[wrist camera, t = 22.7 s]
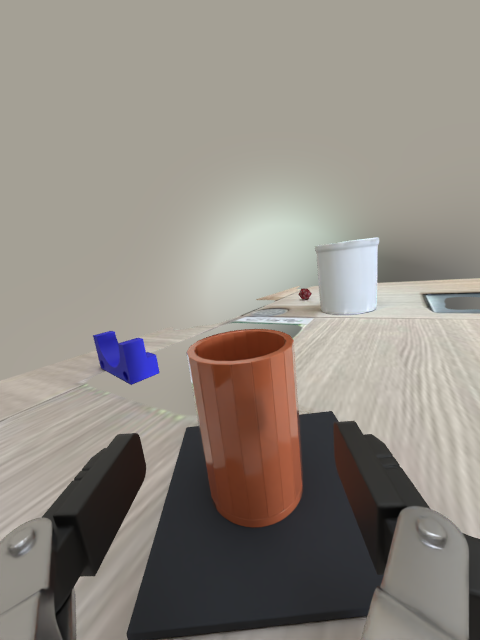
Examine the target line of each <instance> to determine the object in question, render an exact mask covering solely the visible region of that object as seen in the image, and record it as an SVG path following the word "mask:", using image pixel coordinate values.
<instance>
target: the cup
mask: <svg viewBox="0 0 480 640" xmlns="http://www.w3.org/2000/svg"><path fill="white" fill-rule="evenodd" d="M187 358H188V364H189V370H190V376H191V382H192V388H193V394H194V400H195V406H196V412H197V418H198V424H199V431H200V437H201V443H202V449H203V455H204V461H205V467H206V473H207V479H208V485H209V489H210V495H211V499H212V502H213V504H214V506H215V508H216V509H217V511H218V512H219V513H220V514H221V515H222V516H223V517H225V518H226V519H227V520H229V521H231V522H232V523H235V524H237V525H240V526H244V527H253V528H254V527H265V526H269V525H272V524H275V523H277V522H279V521H281V520H283V519H284V518H286V517H287V516H288V515H289V514H290V513H291V512H292V511H293V510H294V509H295V508H296V506H297V505H298V503H299V501H300V499H301V496H302V492H303V469H302V455H301V440H300V425H299V411H298V396H297V381H296V367H295V352H294V340H293V339H292V337H291V336H290V335H288V334H285V333H283V332H280V331H275V330H266V329H245V330H236V331H230V332H225V333H220V334H216V335H212V336H209V337H206V338H204V339H202V340H199V341H197V342H196V343H194V344H193V345H191V346H190V347H189V349H188V351H187Z"/></svg>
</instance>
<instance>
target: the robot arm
mask: <svg viewBox="0 0 480 640" xmlns="http://www.w3.org/2000/svg"><path fill="white" fill-rule="evenodd" d="M334 455H335V463H336V468H337V471H338V475H339V477H340V480H341V482H342V485H343V488H344V490H345V493H346V495H347V498H348V500H349V503H350V506H351V508H352V511H353V513H354V516H355V519H356V521H357V524H358V526H359V529H360V531H361V534H362V537H363V539H364V542H365V544H366V547H367V550H368V552H369V555H370V557H371V560H372V562H373V565H374V568H375V570H376V573H377V575H384V576H383V580H382V583H381V586H380V587H379V586H377V587H376V589H375V591H374V594H373V598H372V601H371V605H370V609H369V612H368V616H367V620H366V623H365V627H364V631H363V635H362V638H361V640H480V539H478V538H474V537H471V536H468V535H466V534H463V533H462V532H461V531H460V530H459V529H458V527H457V526H456V525H455V524H454V523H452V522H451V521H450V520H449V519H448V518H446V517H445V516H443V515H442V514H440V513H438V512H436V511H434V510H431V509H430V508H429V506H428V505H427V503H426V502H425V501H424V499H423V498H422V496H421V495H420V493H419V492H418V491H417V489H416V488H415V486H414V485H413V484H412V482H411V481H410V479H409V478H408V476H407V475H406V474H405V472H404V471H403V469H402V468H400V466H399V464H398V462H397V461H396V459H395V458H394V457H393V455H392V454H391V452H390V451H389V449H388V448H387V447H386V445H385V444H384V443H383V442H382V441H380V440H379V439H378V438H376V437H375V436H374V435H372V434H367V435H363V434H362V432H361V430H360V429H359V427H358V425H357V424H356V422H355V421H345V422H334ZM145 474H146V463H145V458H144V454H143V449H142V445H141V440H140V437H139V435H138V434H137V433H132V434H119V435H117V436H116V437H115V438H114V439H113V441H112V442H111V443H110V444H109V446H108V447H107V448H104V449H103V450H101V451H100V452H99V453H97V454H96V455H95V456H93V457H92V458H91V459H90V460H89V462H88V463H87V464H86V465H85V466H84V468H83V469H82V471H80V472H79V474H78V475H77V476H76V477H75V478H74V481H72V482H71V483H70V484H69V485H68V487H67V488H66V489H65V490H64V491H63V493H62V494H61V495H60V496H59V497H58V499H57V500H56V501H55V502H54V503H53V505H52V506H51V507H50V508H49V509H48V511H47V512H46V513H45V514H44V515H43V517H42V518H37V519H33V520H31V521H28V522H26V523H24V524H22V525H21V526H19V527H17V528H16V529H14V530H13V531H12V532H10V533H9V534H8V535H7V536H6V537H5V538H4V539H3V540H2V541H1V542H0V640H76V595H75V590H74V586H75V584H76V582H77V580H78V579H79V577H80V576H95V575H96V573H97V571H98V569H99V567H100V565H101V563H102V561H103V559H104V557H105V555H106V554H107V552H108V550H109V548H110V546H111V544H112V542H113V540H114V538H115V536H116V534H117V532H118V530H119V528H120V526H121V524H122V522H123V520H124V518H125V516H126V514H127V512H128V511H129V509H130V507H131V505H132V503H133V501H134V499H135V497H136V495H137V493H138V491H139V489H140V487H141V485H142V483H143V481H144V478H145Z"/></svg>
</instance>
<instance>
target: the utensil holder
mask: <svg viewBox="0 0 480 640" xmlns="http://www.w3.org/2000/svg"><path fill="white" fill-rule="evenodd" d="M378 244H379V238H368V239H360V240H353V241H345V242H339V243H332V244H325V245H319V246H315V251H316V253H317V266H318V279H319V294H320V303H321V310H322V311H323V312H325V313H329V314H340V315H348V314H361V313H366V312H370V311H373V310H375V309H376V304H377V251H378Z"/></svg>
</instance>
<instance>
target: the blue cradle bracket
mask: <svg viewBox="0 0 480 640" xmlns="http://www.w3.org/2000/svg"><path fill="white" fill-rule="evenodd" d="M93 337H94V341H95V345H96V349H97V353H98V357H99V361H100V366H101V368H102V369H103V370H105V371H107V372H109V373H111V374H113V375H114V376H116V377H118V378H120V379H122V380H123V381H125V382H127V383H129V384H131V385H132V384H134V383H137V382H139V381H142V380H144V379H146V378H149V377H151V376H153V375H156V374H158V373H159V368H158V363H157V358H156V355H155V354H152V353H149V352H147V353H146V352H145V347H144V342H143V339H141V338H135V339H132V340H129V341H125V342H122V343H118V341H117V339H116V335H115V332H113V331H109V332H105V333H101V334H97V335H93Z"/></svg>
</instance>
